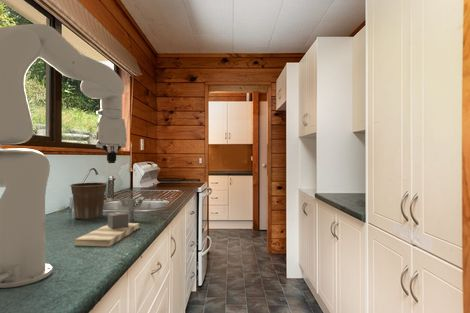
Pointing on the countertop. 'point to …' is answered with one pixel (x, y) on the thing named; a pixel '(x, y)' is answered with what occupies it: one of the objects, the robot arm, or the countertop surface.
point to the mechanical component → (131, 205)
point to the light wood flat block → (105, 235)
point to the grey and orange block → (117, 220)
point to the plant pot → (88, 199)
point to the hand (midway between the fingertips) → (111, 162)
